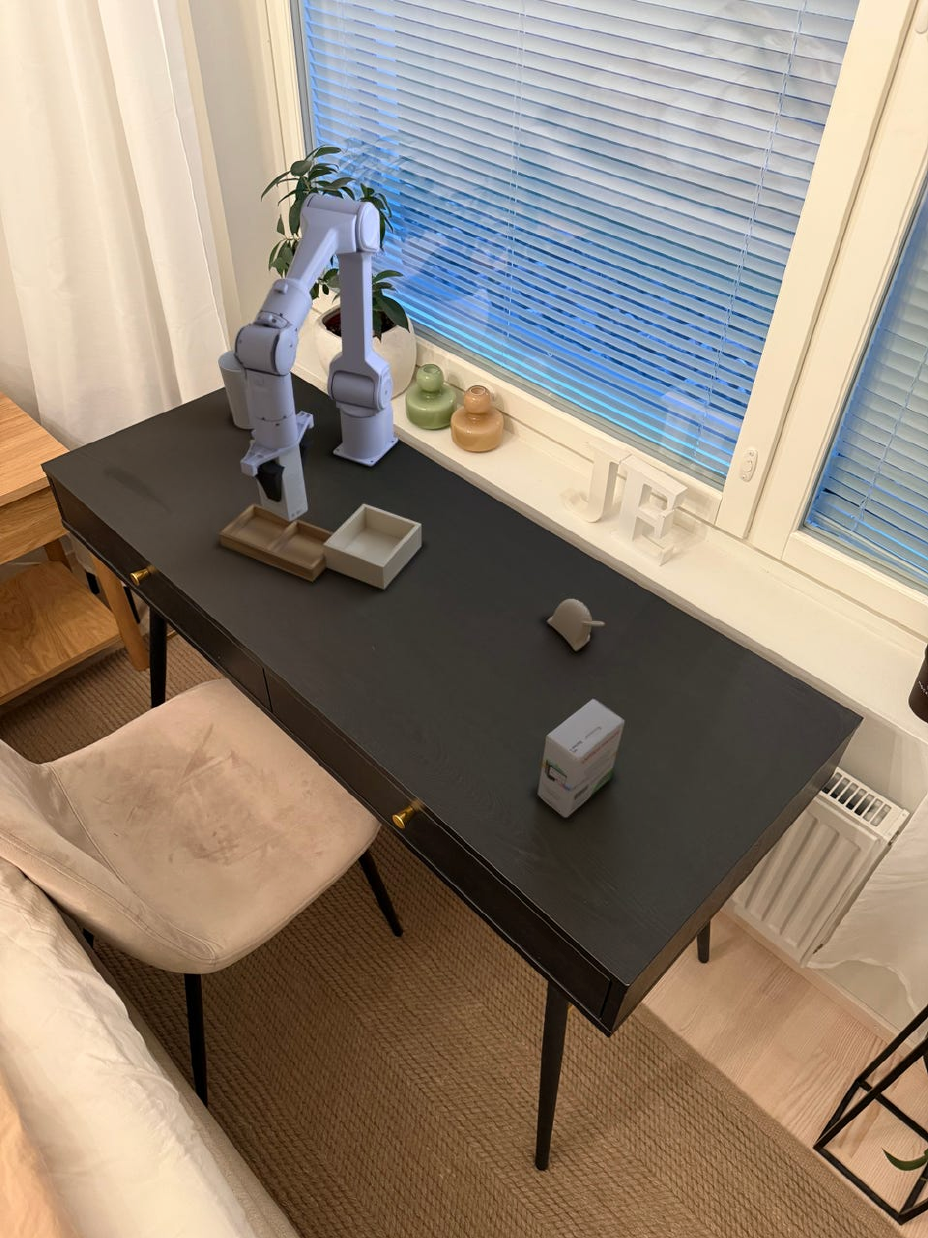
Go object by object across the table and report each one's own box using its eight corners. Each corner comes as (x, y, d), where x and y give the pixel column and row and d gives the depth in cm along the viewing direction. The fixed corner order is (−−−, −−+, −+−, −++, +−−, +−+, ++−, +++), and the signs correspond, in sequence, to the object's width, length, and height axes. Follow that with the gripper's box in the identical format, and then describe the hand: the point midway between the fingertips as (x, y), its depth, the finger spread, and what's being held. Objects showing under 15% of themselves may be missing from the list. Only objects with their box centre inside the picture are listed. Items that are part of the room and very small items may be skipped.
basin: (364, 525, 143) (363, 503, 140) (421, 546, 140) (421, 523, 137) (325, 566, 136) (322, 544, 133) (383, 589, 133) (382, 567, 129)
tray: (255, 514, 144) (253, 502, 143) (344, 548, 139) (343, 536, 137) (221, 545, 139) (218, 533, 137) (312, 581, 133) (311, 569, 132)
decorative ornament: (568, 611, 131) (572, 584, 127) (604, 647, 126) (609, 620, 122) (546, 621, 129) (549, 594, 125) (581, 658, 124) (586, 631, 120)
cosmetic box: (309, 510, 135) (302, 441, 127) (288, 524, 132) (279, 455, 124) (280, 495, 138) (271, 426, 129) (258, 508, 135) (248, 439, 127)
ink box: (581, 755, 112) (593, 694, 104) (611, 779, 110) (627, 719, 102) (535, 794, 108) (544, 734, 100) (566, 820, 106) (577, 761, 97)
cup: (222, 428, 161) (211, 368, 153) (237, 405, 167) (227, 346, 158) (265, 433, 160) (256, 373, 152) (278, 410, 166) (270, 350, 158)
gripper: (281, 378, 128) (291, 457, 138) (216, 427, 119) (232, 507, 129) (322, 391, 126) (329, 470, 136) (259, 442, 117) (272, 523, 127)
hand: (284, 489), depth 132 cm, fingers closed on cosmetic box, 4 cm apart
